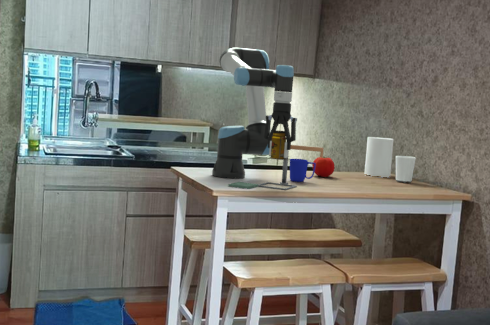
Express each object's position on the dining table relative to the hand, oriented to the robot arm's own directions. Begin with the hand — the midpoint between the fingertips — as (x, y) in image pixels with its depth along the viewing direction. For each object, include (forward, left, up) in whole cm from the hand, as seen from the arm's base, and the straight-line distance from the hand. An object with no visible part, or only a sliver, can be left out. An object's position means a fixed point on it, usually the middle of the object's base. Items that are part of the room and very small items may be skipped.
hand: (278, 156), depth 284 cm
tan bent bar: (+7, +10, +1) cm, 12 cm away
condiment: (+1, 0, -1) cm, 1 cm away
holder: (0, 0, -13) cm, 13 cm away
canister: (+23, +87, -13) cm, 91 cm away
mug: (+2, +26, -13) cm, 29 cm away
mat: (-10, -12, -13) cm, 20 cm away
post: (0, +9, -13) cm, 16 cm away
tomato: (+3, +55, -13) cm, 57 cm away
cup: (+40, +71, -13) cm, 82 cm away
